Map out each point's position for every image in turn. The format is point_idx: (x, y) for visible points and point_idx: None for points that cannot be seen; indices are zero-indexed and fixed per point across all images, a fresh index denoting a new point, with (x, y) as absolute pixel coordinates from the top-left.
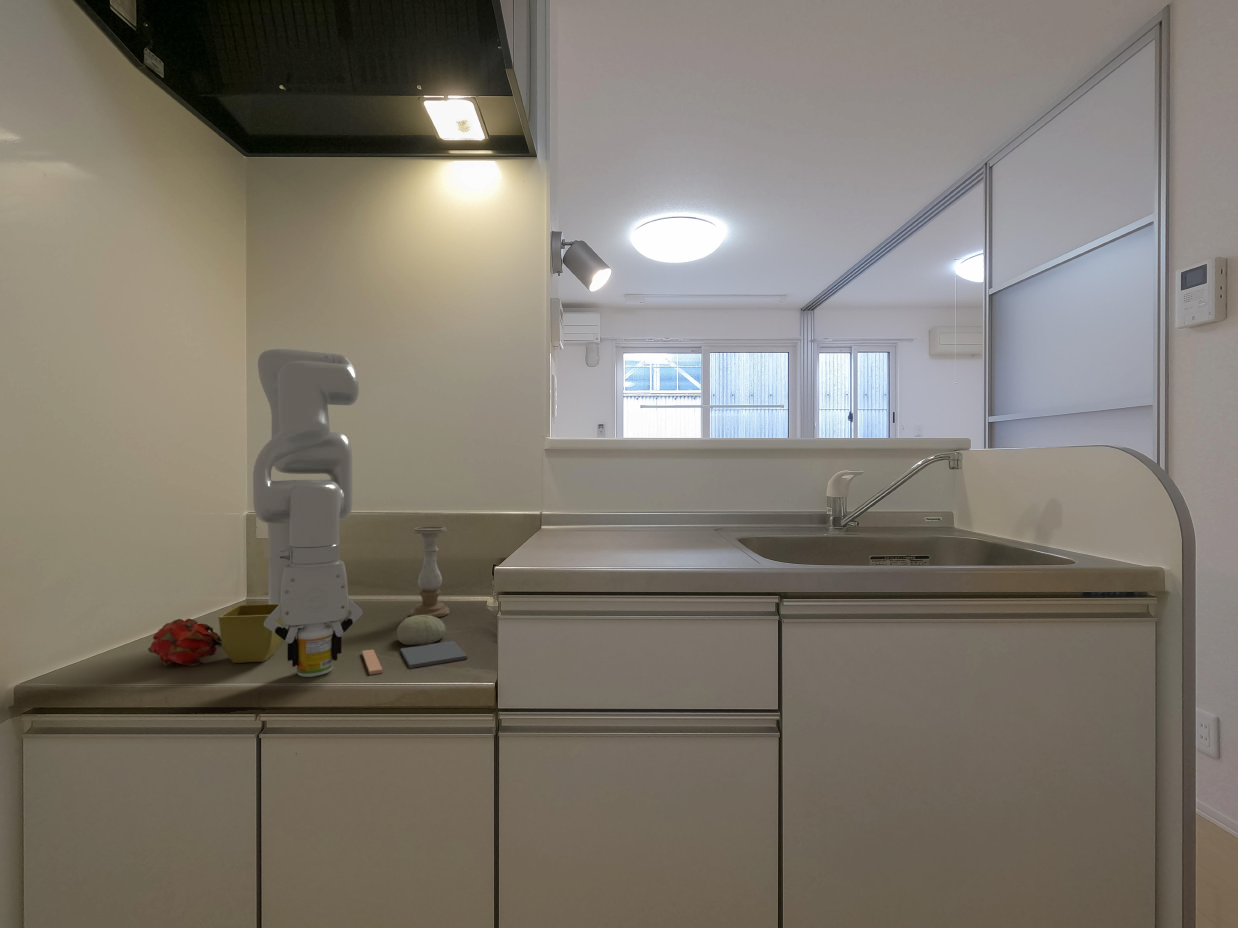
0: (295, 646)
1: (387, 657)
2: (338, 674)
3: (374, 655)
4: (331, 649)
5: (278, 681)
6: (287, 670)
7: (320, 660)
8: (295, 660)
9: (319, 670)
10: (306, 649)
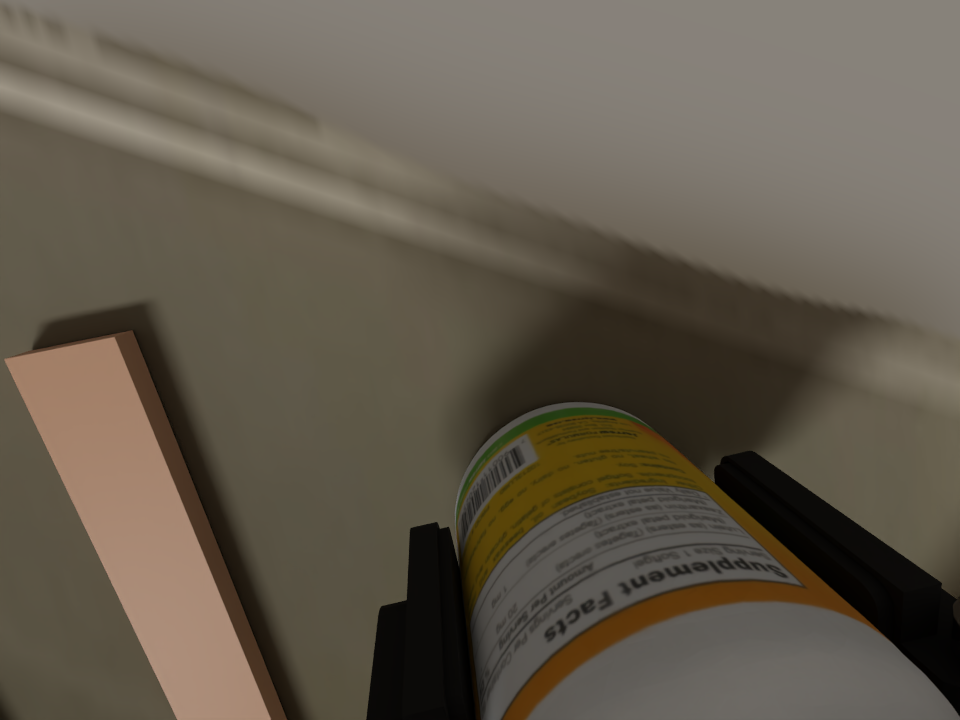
0: (866, 558)
1: (92, 677)
2: (392, 407)
3: (176, 688)
4: (468, 606)
5: (774, 377)
6: None
7: (543, 464)
8: (755, 473)
9: (532, 423)
10: (726, 518)
